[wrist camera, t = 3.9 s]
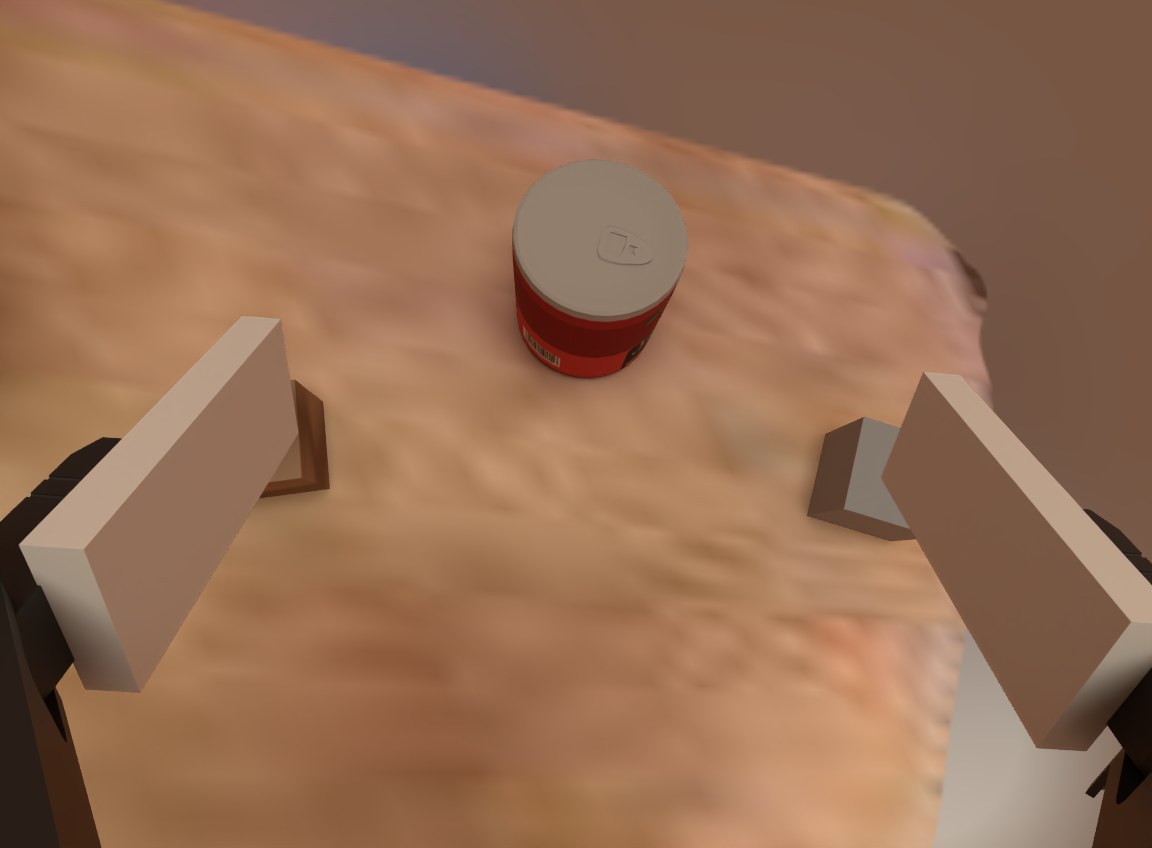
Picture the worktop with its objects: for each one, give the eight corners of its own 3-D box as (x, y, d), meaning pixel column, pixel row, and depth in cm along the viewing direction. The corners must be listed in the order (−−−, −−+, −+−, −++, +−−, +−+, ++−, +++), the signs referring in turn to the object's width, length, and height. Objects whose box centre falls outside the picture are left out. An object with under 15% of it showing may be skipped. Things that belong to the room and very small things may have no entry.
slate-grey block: (889, 541, 41) (938, 537, 36) (806, 515, 41) (844, 508, 36) (906, 459, 42) (955, 444, 37) (825, 434, 42) (863, 416, 37)
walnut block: (330, 489, 39) (301, 477, 35) (237, 501, 39) (195, 491, 34) (323, 402, 40) (294, 379, 36) (233, 413, 40) (191, 391, 35)
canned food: (649, 385, 42) (689, 322, 31) (513, 377, 41) (505, 311, 31) (651, 264, 43) (690, 163, 32) (520, 255, 43) (516, 150, 32)
